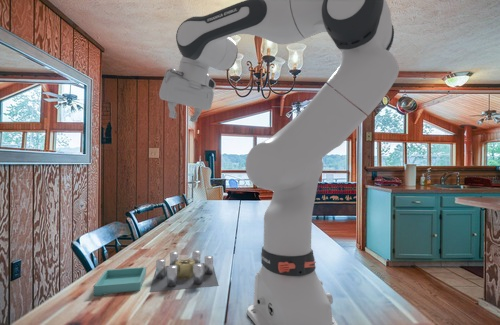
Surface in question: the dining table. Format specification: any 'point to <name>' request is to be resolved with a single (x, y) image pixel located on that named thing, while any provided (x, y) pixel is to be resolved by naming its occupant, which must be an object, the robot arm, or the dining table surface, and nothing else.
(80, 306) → the dining table surface
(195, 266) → the steel spacers
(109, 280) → the parts tray
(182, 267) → the brass nut
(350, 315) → the dining table surface
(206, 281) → the mat
